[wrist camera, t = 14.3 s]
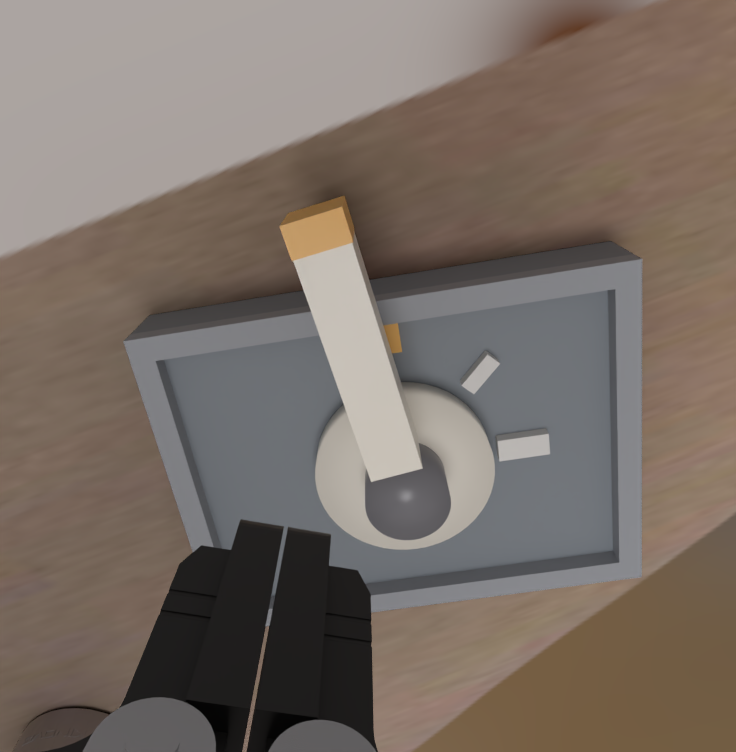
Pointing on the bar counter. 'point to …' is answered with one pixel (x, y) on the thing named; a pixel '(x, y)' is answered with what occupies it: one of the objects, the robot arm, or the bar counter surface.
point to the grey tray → (439, 369)
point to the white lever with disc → (382, 407)
